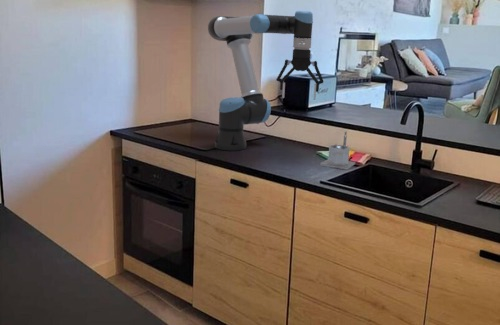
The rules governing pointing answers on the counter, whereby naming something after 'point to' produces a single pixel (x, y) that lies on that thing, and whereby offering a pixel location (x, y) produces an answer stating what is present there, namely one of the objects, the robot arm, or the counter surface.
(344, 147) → the grey piece
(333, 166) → the square plate with knob
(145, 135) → the counter surface
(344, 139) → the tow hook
